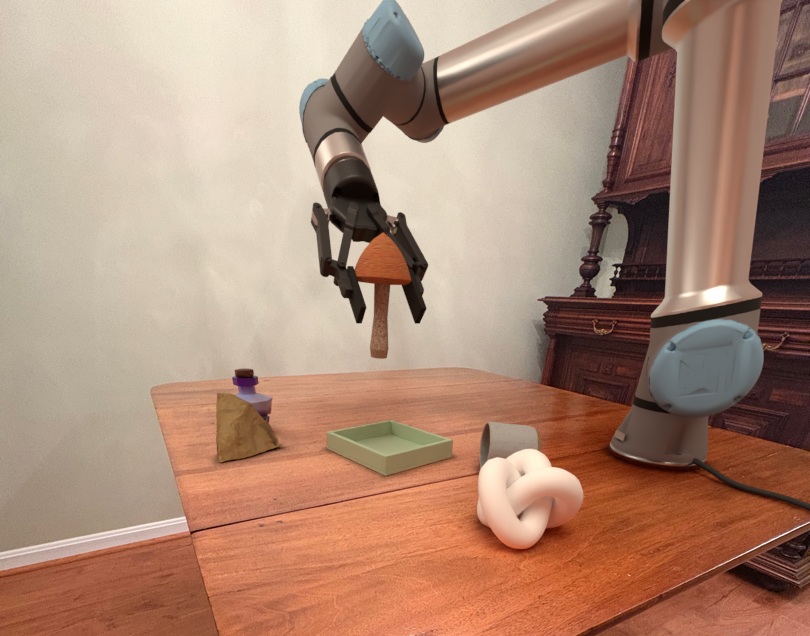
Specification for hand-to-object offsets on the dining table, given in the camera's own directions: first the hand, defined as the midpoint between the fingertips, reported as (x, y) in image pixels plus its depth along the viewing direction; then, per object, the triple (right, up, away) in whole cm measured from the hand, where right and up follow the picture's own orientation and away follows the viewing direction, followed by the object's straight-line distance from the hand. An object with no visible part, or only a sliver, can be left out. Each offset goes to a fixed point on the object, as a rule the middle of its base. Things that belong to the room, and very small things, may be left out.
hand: (391, 315), depth 57 cm
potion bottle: (-27, -10, +25) cm, 39 cm away
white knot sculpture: (+15, -29, -6) cm, 33 cm away
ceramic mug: (+18, -18, +12) cm, 28 cm away
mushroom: (-2, -4, +6) cm, 7 cm away
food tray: (-1, -15, +18) cm, 23 cm away
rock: (-25, -15, +16) cm, 33 cm away
